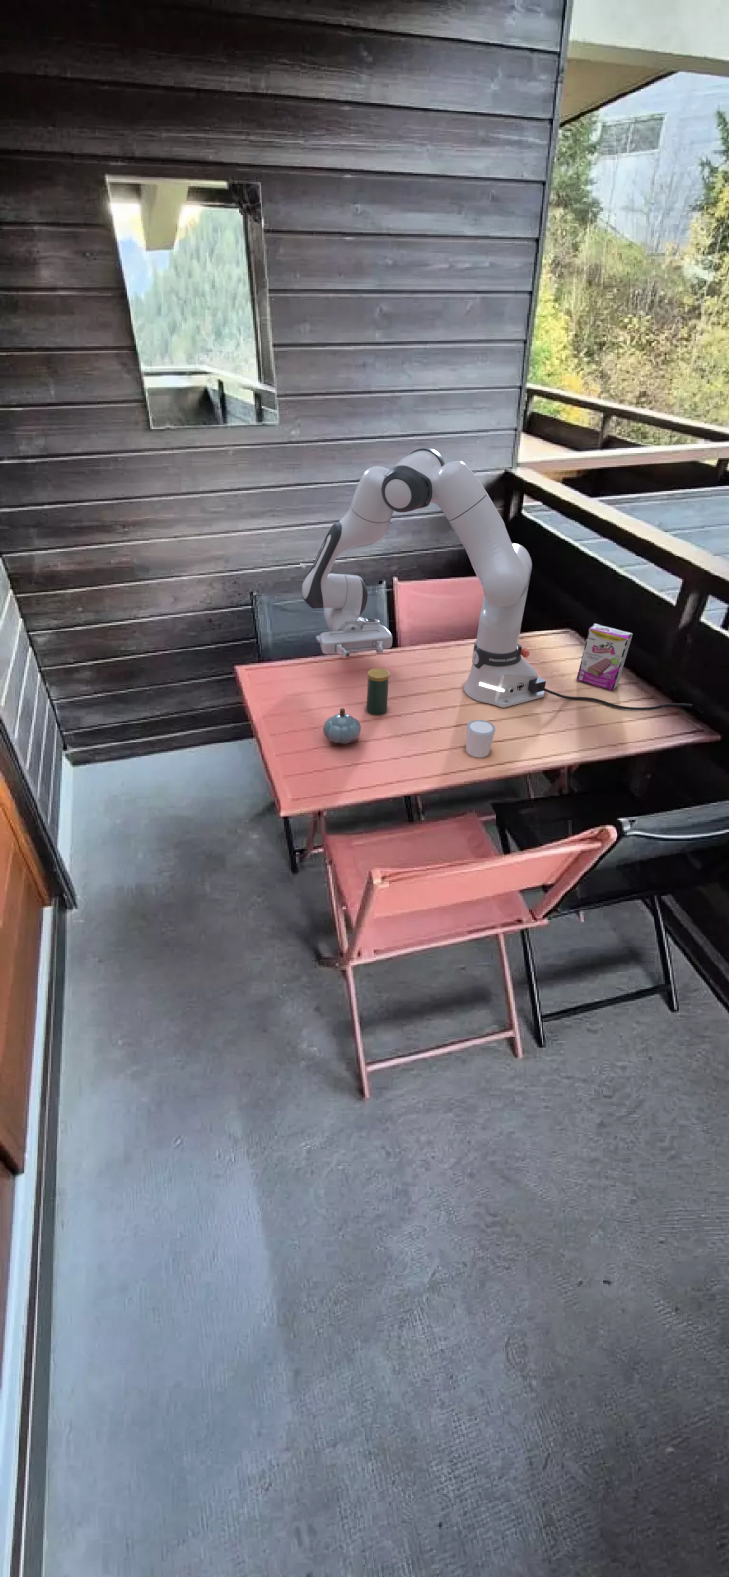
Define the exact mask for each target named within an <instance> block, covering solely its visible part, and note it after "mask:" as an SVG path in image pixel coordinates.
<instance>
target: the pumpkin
mask: <svg viewBox="0 0 729 1577" xmlns="http://www.w3.org/2000/svg"><path fill="white" fill-rule="evenodd" d="M361 730H362V726H361V723H360V721H359V720H358V719H357V718H355V717H354V716H352V715H350V714H348V713H346V709H345V708H342V707H341V708H340V709H339V713H336V714H334V715H333V716H329V717H328V718H327V719H326V720H325V722H324V725H323V731H322V732H323V734H324V736H325V738H327V740H330V741H331V742H332V743H334V744H341V745H347V744H350V743H351V742H354V741H356V740H358V739H359V737H360V735H361Z"/></svg>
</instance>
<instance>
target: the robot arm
mask: <svg viewBox="0 0 729 1577" xmlns="http://www.w3.org/2000/svg"><path fill="white" fill-rule="evenodd" d="M431 503H433V504H435V505H437V506H438V507H439V508H440V510H441V511H442V513H443V514H444V516H445V518H446V520H447V521H448V523H449V524H450V527H451V528H452V530H453V532H454V533H455V535H456V536H457V538H458V539H459V541H460V543H461V545H462V546H463V548H464V550H465V552H466V554H467V556H468V558H469V561H470V564H471V567H472V568H473V570H474V573H475V575H476V578H477V579H478V581H479V584H480V586H481V589H482V592H483V596H482V604H481V608H480V613H479V619H478V626H477V627H478V628H477V633H476V640H475V641H474V645H473V650H472V656H471V658H472V659H471V662H472V663H471V667H470V671H469V674H468V676H467V680H466V682H465V684H464V686H463V691H464V693H465V694H466V696H467V697H469V698H471V699H472V700H475V701H477V702H480V703H484V704H490V705H493V706H495V707H499V708H502V709H504V708H509V707H512V706H516V705H519V704H524V703H527V702H531V701H535V700H539V699H541V698H544V697H545V692H546V693H547V694H551V695H553V696H556V697H559V698H562V699H567V700H576V701H577V700H581V701H593V702H596V703H600V704H604V705H607V706H608V707H609V706H610V707H612V708H616V709H622V710H628V711H629V710H630V711H649V710H650V711H652V710H656V709H660V708H663V707H662V706H666V707H687V708H692V705H693V704H692V703H691V704H690V703H662V704H658V705H655V706H654V705H653V706H639V707H636V706H635V707H634V706H626V705H620V704H619V705H618V704H615V703H612V702H609V701H605V700H602V699H599V698H596V697H588V696H569V695H565V694H560V693H558V692H555V691H553V690H550V689H548V688H546V684H547V681H546V680H545V679H544V678H542V677H541V676H539V677H538V672H537V671H536V669H535V668H534V667H533V666H532V664H530V663H529V662H528V661H526V659H525V658H528V657H529V656H530V653H531V652H530V651H529V650H528V649H527V648H525V647H524V648H523V646H521V645H520V644H519V640H520V635H521V629H522V623H523V617H524V612H525V607H526V601H527V597H528V591H529V585H530V580H531V575H532V570H533V563H532V557H531V556H530V553H529V551H528V550H527V549H526V548H525V547H524V546H523V545H521V544H519V543H514V542H512V540H511V537H510V535H509V532H508V530H507V527H506V524H505V522H504V519H503V518H502V515H501V514H500V513H499V511H498V509H497V507H496V506H495V503H494V502H493V500H492V499H491V497H490V495H489V494H488V492H487V491H486V489H485V487H484V486H483V484H482V483H481V481H480V480H479V478H478V477H477V476H476V474H475V473H474V472H473V470H471V469H470V467H469V466H468V465H467V464H466V463H465V462H463V461H462V460H452V461H449V462H447V463H445V460H444V458H443V456H442V455H441V454H440V453H439V451H437V450H435V449H434V448H431V447H421V448H418V449H415V450H413V451H412V452H410V453H409V454H408V455H406V456H404V457H402V458H401V459H400V460H398V462H397V463H396V464H395V465H393V467H392V468H390V469H389V468H387V467H384V466H381V465H373V466H370V467H368V468H367V469H366V470H365V471H364V472H363V473H362V476H361V477H360V479H359V481H358V484H357V485H356V488H355V491H354V494H353V496H352V499H351V504H350V506H349V508H348V510H347V511H346V513H345V514H344V516H343V517H341V519H340V520H339V521H337V522H335V523H333V524H332V525H331V527H330V528H329V530H328V532H327V533H326V536H325V538H324V540H323V542H322V544H321V546H320V549H319V551H318V553H317V555H316V557H315V558H314V562H313V563H312V565H311V568H310V569H309V571H308V572H307V574H306V575H305V577H304V579H303V582H302V586H301V597H302V599H303V601H304V602H305V603H306V604H307V605H308V606H309V607H310V608H311V609H323V618H324V621H325V624H326V626H327V628H328V629H329V631H324V632H321V633H320V634H318V635H316V636H315V640H316V642H317V643H319V644H320V651H321V652H322V654H325V655H334V654H338V655H340V656H343V658H345V659H346V658H350V656H351V653H354V652H365V651H373V650H375V653H376V654H377V655H383V654H384V649H390V648H392V646H393V634H392V633H391V631H390V630H389V629H388V628H386V627H385V626H384V625H383V624H381V621H380V620H379V619H377V618H367V617H362V614H363V612H364V611H365V609H366V607H367V603H368V598H369V597H368V596H369V593H368V588H367V585H366V583H365V581H364V579H363V578H362V577H361V576H360V575H356V574H345V573H333V572H332V573H331V571H332V568H333V566H334V564H335V563H336V560H337V559H338V557H339V556H340V555H341V554H343V553H344V552H345V553H346V552H347V551H349V550H350V551H351V550H353V549H357V548H361V547H367V546H371V545H373V544H375V543H377V542H379V541H380V540H381V539H382V538H383V537H384V536H385V534H386V533H387V531H388V529H389V526H390V523H391V521H392V517H393V514H394V512H396V513H408V512H409V513H410V512H412V511H415V510H419V509H423V508H427V507H429V505H430V504H431ZM693 709H695V710H696V711H698V713H700V714H703V713H702V712H703V711H702V712H701V711H700V710H698V709H696V708H693Z"/></svg>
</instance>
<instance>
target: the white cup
mask: <svg viewBox="0 0 729 1577" xmlns="http://www.w3.org/2000/svg"><path fill="white" fill-rule="evenodd" d="M495 733H496V726H495V725H494V724H493V723H492V722H490V721H488V720H483V719H475V720H474V719H473V720H471V721H469V722H468V723H467V724H466V740H465V741H466V742H465V751H466V753H467V755H469V756H471V757H474V758H485V757H487V756H488V755H489V754H490V751H491V747H492V744H493V740H494V736H495Z"/></svg>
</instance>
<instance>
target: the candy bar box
mask: <svg viewBox="0 0 729 1577" xmlns="http://www.w3.org/2000/svg"><path fill="white" fill-rule="evenodd" d="M633 635H634V634H633V633H632V632H629V631H625V630H621V629H617V628H614V627H610V626H606V625H602V624H599V623H593V624H592V626H590V627H589V628H588V632H587V636H586V640H585V643H584V648H583V651H582V656H581V660H580V664H579V668H578V672H577V676H576V681H578V682H581V683H585V684H588V685H591V686H595V687H598V688H601V689H605V690H609V691H612V692H614V690H615V689H616V688H617V687H618V685H619V684H620V680H621V676H622V673H623V670H624V665H625V662H626V658H627V656H628V653H629V652H628V651H629V648H630V645H631V642H632V638H633Z"/></svg>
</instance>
